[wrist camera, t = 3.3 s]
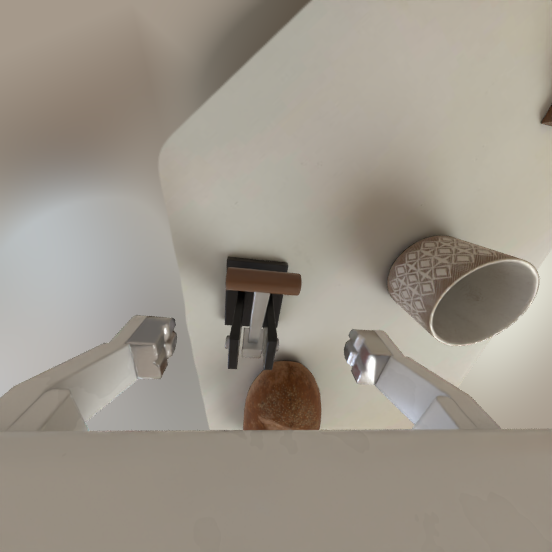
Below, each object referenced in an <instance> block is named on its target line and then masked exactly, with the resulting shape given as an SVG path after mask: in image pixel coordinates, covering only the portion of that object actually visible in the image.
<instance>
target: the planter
mask: <svg viewBox="0 0 552 552" xmlns="http://www.w3.org/2000/svg"><path fill="white" fill-rule="evenodd" d="M387 287H388V291H389V294H390V296H391V297H392V298H393V300H394V301H395V302H397V303H398V304H399V305H400V306H401V307H402V308H403V309H404V310H405V311H406V312H407V313H408V314H409V315H411V316H412V317H413V318H414V319H415V320H416V321H417V322H418V323H419V324H420V325H421V326H422V327H423V328H425V329H426V330H427V331H428V332H429V333H430V334H431V335H432V336H433V337H434V338H435V339H436V340H438V341H439V342H441V343H443V344H446V345H451V346H465V345H471V344H475V343H478V342H481V341H484V340H487V339H489V338H491V337H493V336H495V335H497V334H499V333H500V332H502V331H503V330H505V329H507V328H508V327H509V326H511V325H512V324H513V323H515V322H516V321H517V320H518V319H519V318H520V317H521V316H522V315H523V314H524V313H525V312H526V310H527V309H528V308H529V306H530V305H531V304H532V302H533V300H534V298H535V296H536V294H537V291H538V288H539V275H538V272H537V270H536V268H535V267H534V266H533V265H532V264H531V263H529V262H528V261H525V260H523V259H519V258H516V257H513V256H510V255H507V254H504V253H501V252H498V251H494V250H491V249H488V248H485V247H482V246H479V245H476V244H473V243H469V242H466V241H463V240H460V239H457V238H454V237H450V236H432V237H428V238H425V239H423V240H420V241H418V242H416V243H415V244H413V245H411V246H410V247H409V248H407V249H406V250H405V251H404V252H403V253H402V254H401V255H400V256H399V257H398V258H397V259H396V261H395V262H394V264H393V265H392V267H391V270H390V272H389V275H388V281H387Z"/></svg>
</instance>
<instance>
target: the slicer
mask: <svg viewBox="0 0 552 552" xmlns="http://www.w3.org/2000/svg"><path fill="white" fill-rule="evenodd" d="M228 267H234V268H245V269H255V270H266V271H276V272H286V273H287V270H288V264H287V263H284V262H274V261H264V260H254V259H244V258H235V257H228V259H227V269H228ZM253 298H254V292H247V291H235V290H227V289H226V304H225V325H232V327H231V332H230V336H227V337H226V343H225V348H226V349H229V354H228V369H237V363H238V355H239V346H240V338H241V330H242V326H250V321H251V313H252V305H253ZM282 298H283V294H272V293H270V296H269V300H268V304H267V308H266V312H265V317H264V321H263V325H262V327H263V330H264V331H263V362H264V370H272V368H273V363H274V358H275V353H276V351H278V349H279V339H278V338H277V332H276V328H277V325H278V320H279V314H280V309H281V303H282Z"/></svg>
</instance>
